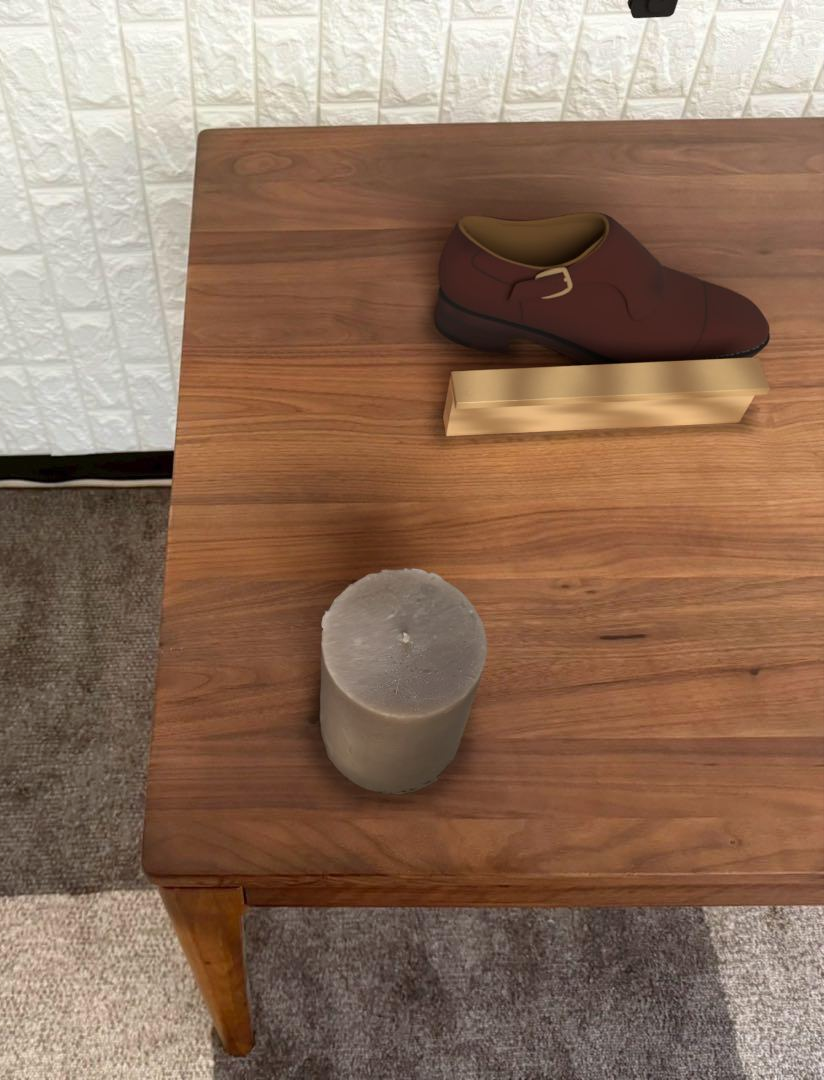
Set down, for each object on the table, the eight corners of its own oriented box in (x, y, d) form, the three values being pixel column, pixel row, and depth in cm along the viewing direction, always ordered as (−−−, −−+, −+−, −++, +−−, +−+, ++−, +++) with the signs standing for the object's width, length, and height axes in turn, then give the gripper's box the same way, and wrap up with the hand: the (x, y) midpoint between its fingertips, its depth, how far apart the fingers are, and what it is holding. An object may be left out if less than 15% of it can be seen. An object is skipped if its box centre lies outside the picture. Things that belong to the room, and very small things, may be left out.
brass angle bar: (732, 403, 84) (758, 356, 79) (743, 434, 82) (770, 388, 77) (442, 417, 84) (451, 371, 79) (447, 448, 82) (456, 403, 77)
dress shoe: (763, 396, 84) (824, 294, 74) (426, 360, 87) (441, 257, 77) (754, 315, 89) (811, 209, 79) (435, 283, 92) (450, 177, 82)
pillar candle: (452, 806, 67) (486, 724, 54) (307, 781, 68) (306, 694, 55) (466, 672, 72) (499, 568, 59) (330, 651, 73) (334, 544, 60)
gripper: (838, -228, 57) (725, 69, 73) (762, -334, 65) (674, -46, 81) (706, -222, 57) (621, 74, 73) (646, -329, 65) (581, -41, 81)
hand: (649, 11), depth 77 cm, fingers closed
